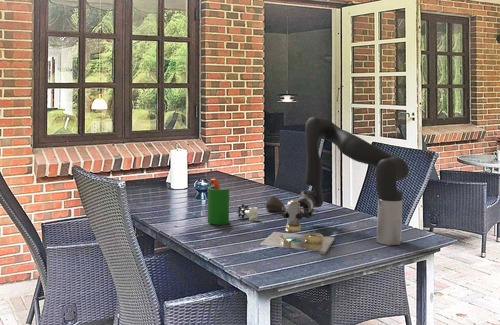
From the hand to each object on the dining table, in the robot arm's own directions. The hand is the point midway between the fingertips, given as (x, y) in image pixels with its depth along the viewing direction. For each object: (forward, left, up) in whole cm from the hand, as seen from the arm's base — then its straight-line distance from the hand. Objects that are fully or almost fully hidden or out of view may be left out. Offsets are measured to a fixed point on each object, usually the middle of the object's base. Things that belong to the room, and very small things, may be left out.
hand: (291, 216), depth 204 cm
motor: (+40, -22, -11) cm, 47 cm away
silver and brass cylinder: (0, -3, -6) cm, 7 cm away
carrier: (-2, -1, -11) cm, 11 cm away
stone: (+22, -52, -11) cm, 58 cm away
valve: (+28, -30, -11) cm, 42 cm away
